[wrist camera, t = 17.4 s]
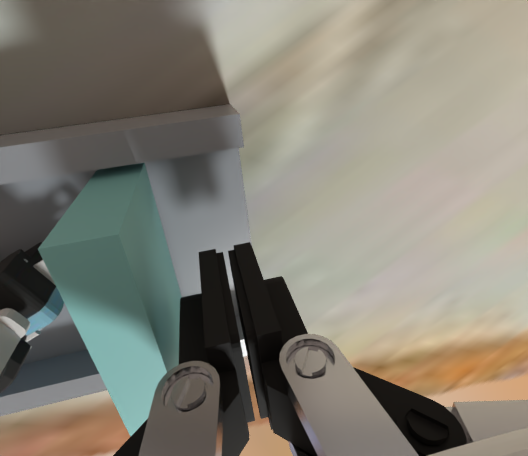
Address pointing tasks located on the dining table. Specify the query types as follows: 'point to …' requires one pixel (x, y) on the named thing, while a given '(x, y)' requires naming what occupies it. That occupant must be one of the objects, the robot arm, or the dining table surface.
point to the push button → (23, 308)
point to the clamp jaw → (119, 285)
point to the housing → (167, 201)
